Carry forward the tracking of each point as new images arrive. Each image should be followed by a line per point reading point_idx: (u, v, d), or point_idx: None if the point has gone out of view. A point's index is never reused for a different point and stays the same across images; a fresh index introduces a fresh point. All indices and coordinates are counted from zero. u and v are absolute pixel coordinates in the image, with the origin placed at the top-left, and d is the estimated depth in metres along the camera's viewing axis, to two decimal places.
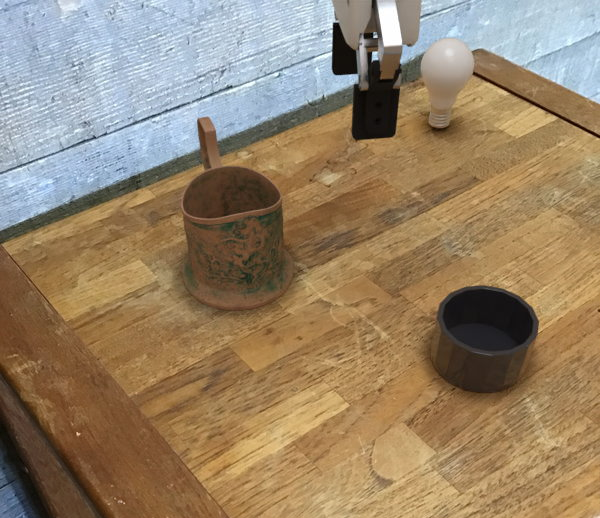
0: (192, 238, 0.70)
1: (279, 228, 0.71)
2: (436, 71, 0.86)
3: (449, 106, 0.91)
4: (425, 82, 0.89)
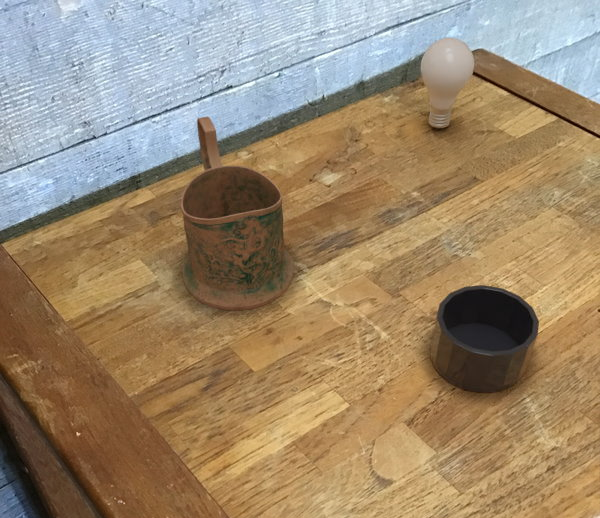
0: (192, 238, 0.70)
1: (279, 228, 0.71)
2: (436, 71, 0.86)
3: (449, 106, 0.91)
4: (425, 82, 0.89)
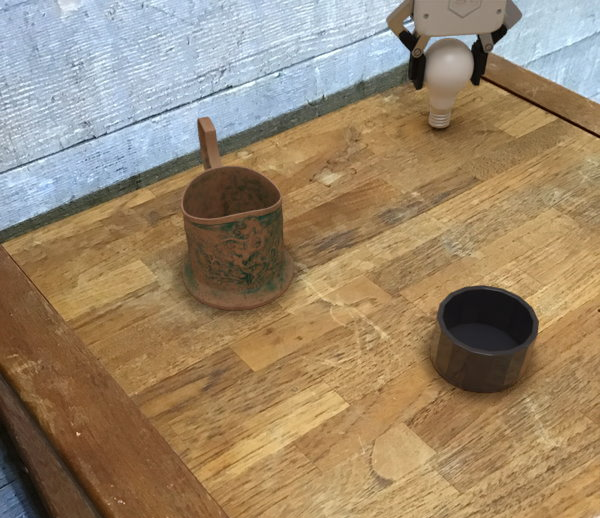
0: (192, 238, 0.70)
1: (279, 228, 0.71)
2: (436, 71, 0.86)
3: (449, 106, 0.91)
4: (425, 82, 0.89)
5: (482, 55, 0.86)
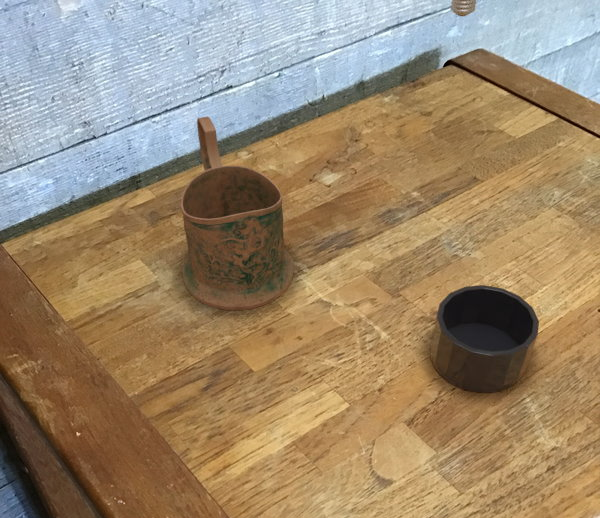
0: (192, 238, 0.70)
1: (279, 228, 0.71)
2: None
3: None
4: None
5: None
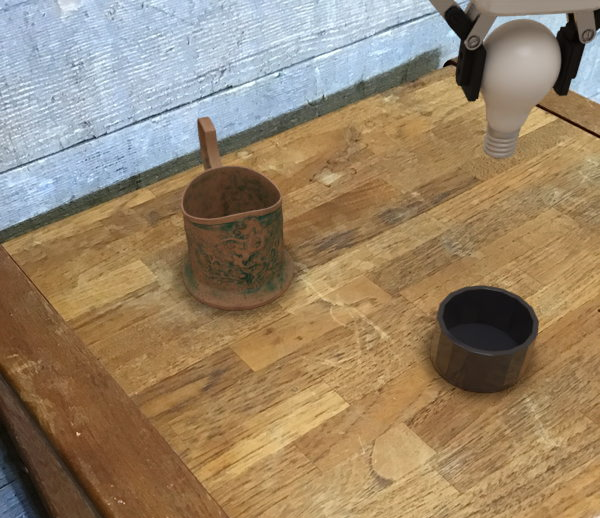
0: (192, 238, 0.70)
1: (279, 228, 0.71)
2: (502, 72, 0.54)
3: (517, 126, 0.59)
4: (482, 89, 0.57)
5: (577, 47, 0.54)
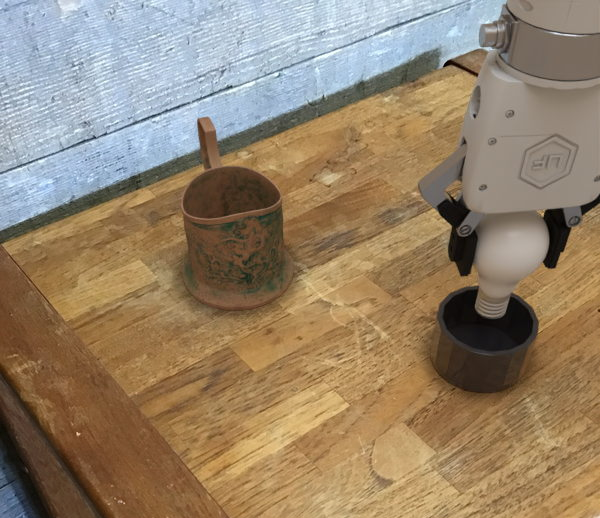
0: (192, 238, 0.70)
1: (279, 228, 0.71)
2: (493, 256, 0.56)
3: (508, 294, 0.61)
4: (474, 265, 0.59)
5: (564, 231, 0.56)
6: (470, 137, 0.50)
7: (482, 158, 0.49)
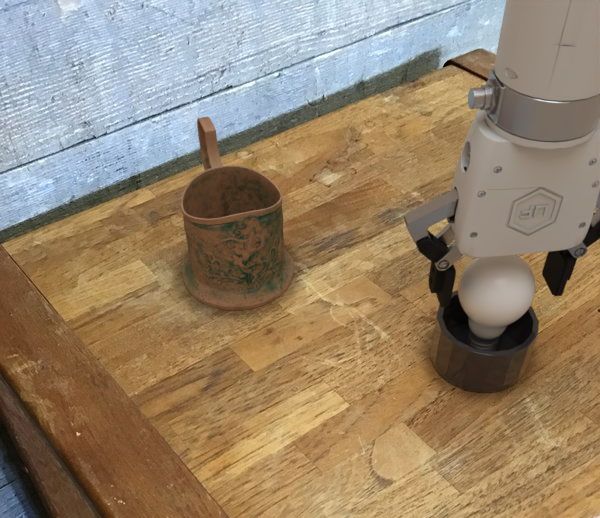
0: (192, 238, 0.70)
1: (279, 228, 0.71)
2: (482, 303, 0.60)
3: (497, 336, 0.65)
4: (465, 310, 0.63)
5: (570, 262, 0.59)
6: (461, 188, 0.53)
7: (472, 209, 0.53)
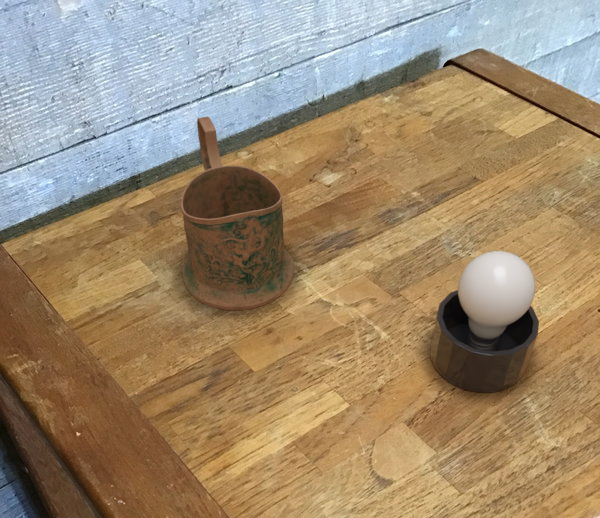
0: (192, 238, 0.70)
1: (279, 228, 0.71)
2: (482, 303, 0.60)
3: (497, 336, 0.65)
4: (465, 310, 0.63)
5: None
6: None
7: None
